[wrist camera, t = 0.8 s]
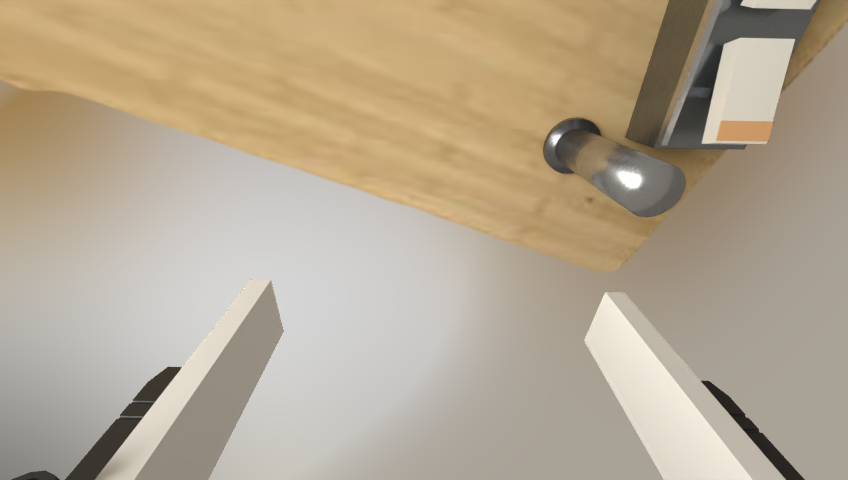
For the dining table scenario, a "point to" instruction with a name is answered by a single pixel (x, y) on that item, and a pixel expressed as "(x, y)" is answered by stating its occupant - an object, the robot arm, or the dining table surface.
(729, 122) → the paddle
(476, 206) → the dining table surface
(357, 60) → the dining table surface
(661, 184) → the post
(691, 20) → the grey channel rail
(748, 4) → the paddle
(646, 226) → the dining table surface
